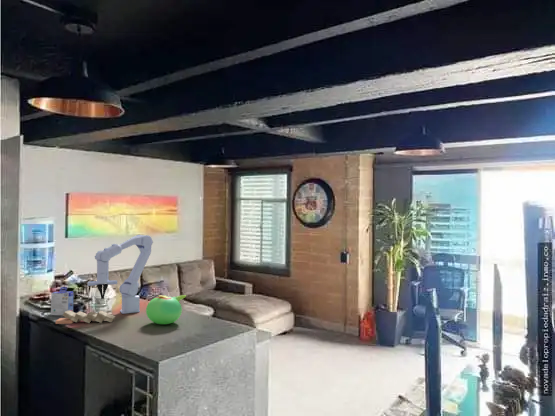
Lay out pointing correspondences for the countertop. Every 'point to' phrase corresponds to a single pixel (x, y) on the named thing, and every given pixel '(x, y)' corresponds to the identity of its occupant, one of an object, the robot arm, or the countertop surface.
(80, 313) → the domino
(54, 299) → the ink cartridge box
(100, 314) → the domino
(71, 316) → the domino
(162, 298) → the green teapot
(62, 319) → the domino
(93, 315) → the domino
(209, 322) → the countertop surface
